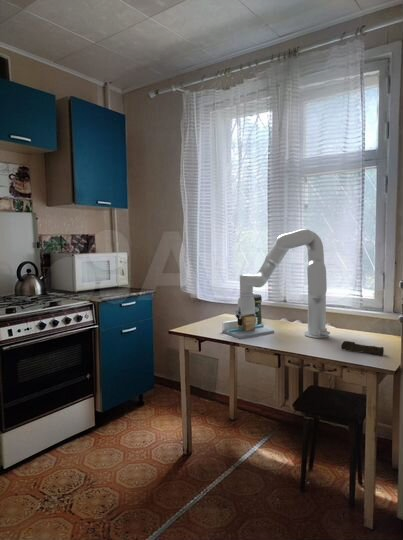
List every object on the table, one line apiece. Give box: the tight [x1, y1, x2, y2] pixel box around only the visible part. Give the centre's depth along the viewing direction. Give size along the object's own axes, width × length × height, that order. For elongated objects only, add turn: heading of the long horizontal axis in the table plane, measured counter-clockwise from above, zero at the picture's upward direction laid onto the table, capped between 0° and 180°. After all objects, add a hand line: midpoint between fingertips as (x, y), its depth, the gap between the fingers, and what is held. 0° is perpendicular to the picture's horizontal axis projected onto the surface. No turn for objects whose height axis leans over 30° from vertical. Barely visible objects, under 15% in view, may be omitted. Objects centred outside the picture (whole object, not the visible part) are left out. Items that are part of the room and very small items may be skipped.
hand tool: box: [340, 340, 385, 357], centre depth 184 cm, size 19×4×5 cm, turn 54°
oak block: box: [239, 315, 255, 332], centre depth 226 cm, size 8×6×8 cm
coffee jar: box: [250, 293, 263, 325], centre depth 249 cm, size 10×8×19 cm
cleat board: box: [221, 318, 275, 340], centre depth 225 cm, size 18×24×6 cm
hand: (246, 324), depth 226 cm, fingers open, 9 cm apart
